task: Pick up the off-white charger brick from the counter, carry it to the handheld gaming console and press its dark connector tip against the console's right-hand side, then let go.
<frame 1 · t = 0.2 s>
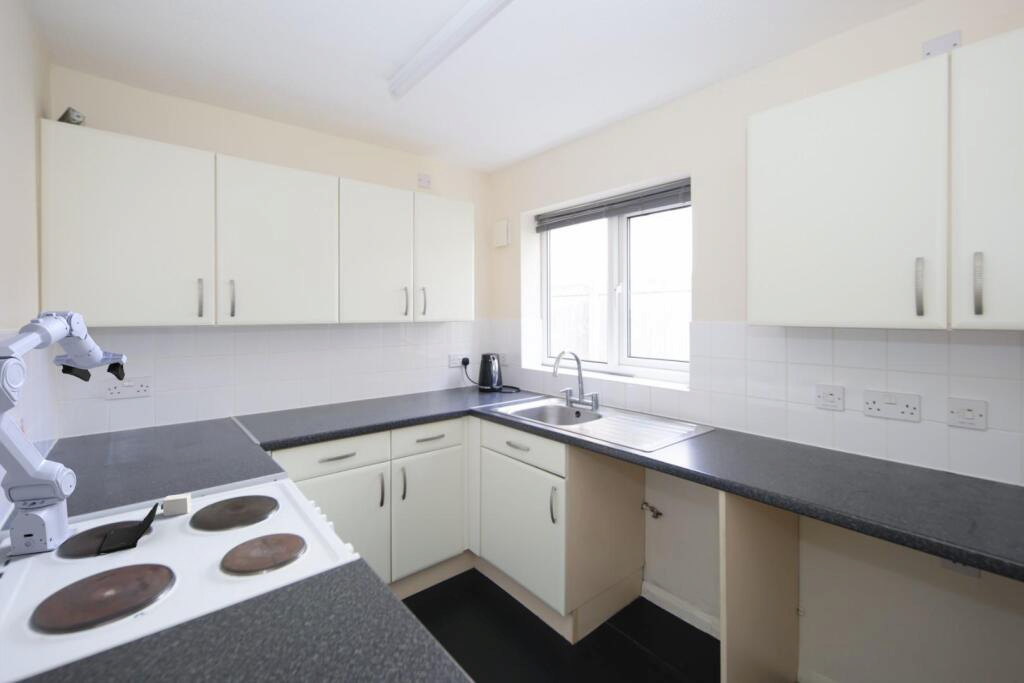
hand: (105, 377, 128), 32 cm above the countertop, tool tilted 50°, fingers open, 7 cm apart
charger brick: (178, 512, 118), on the countertop
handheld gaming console: (132, 540, 105), on the countertop
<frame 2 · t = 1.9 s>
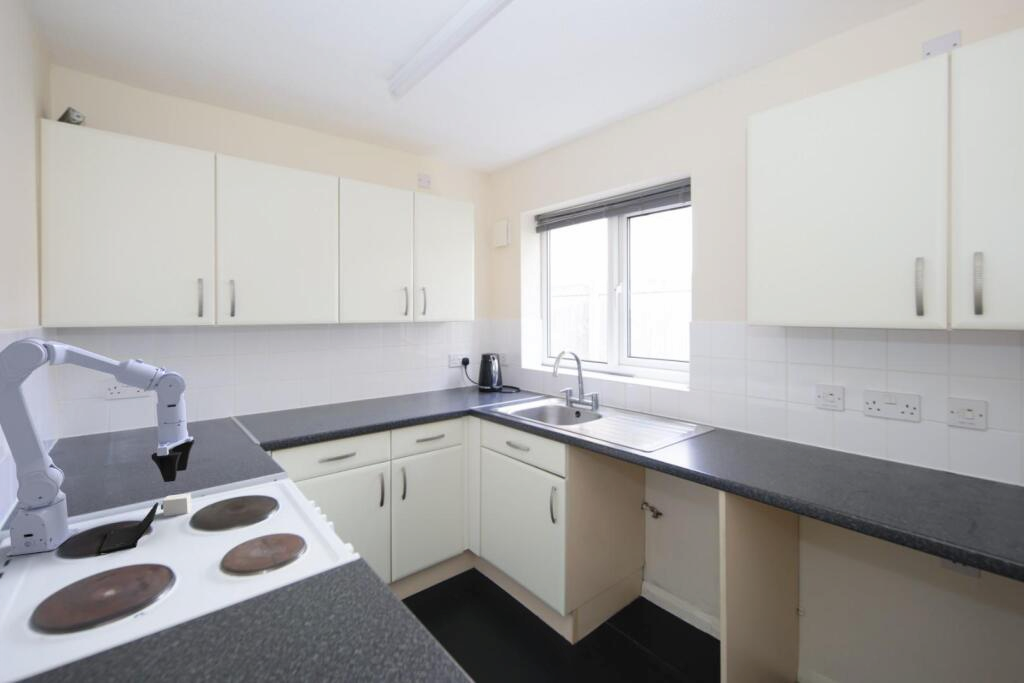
hand: (175, 475, 117), 9 cm above the countertop, tool pointing down, fingers open, 7 cm apart
nothing on the countertop moved.
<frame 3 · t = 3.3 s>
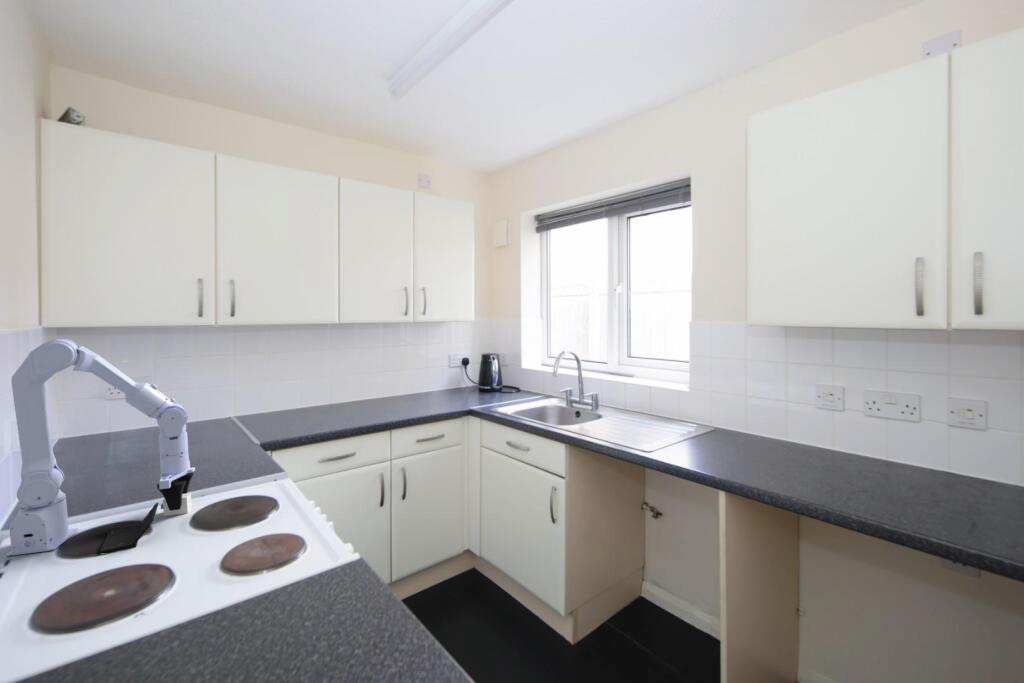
hand: (177, 506, 118), 1 cm above the countertop, tool pointing down, fingers closed on charger brick, 3 cm apart
charger brick: (178, 512, 118), on the countertop, touching gripper
everything else where it was.
when the fingers open (2 cm above the countertop, at t = 6.5 s): charger brick stays where it is, on the countertop.
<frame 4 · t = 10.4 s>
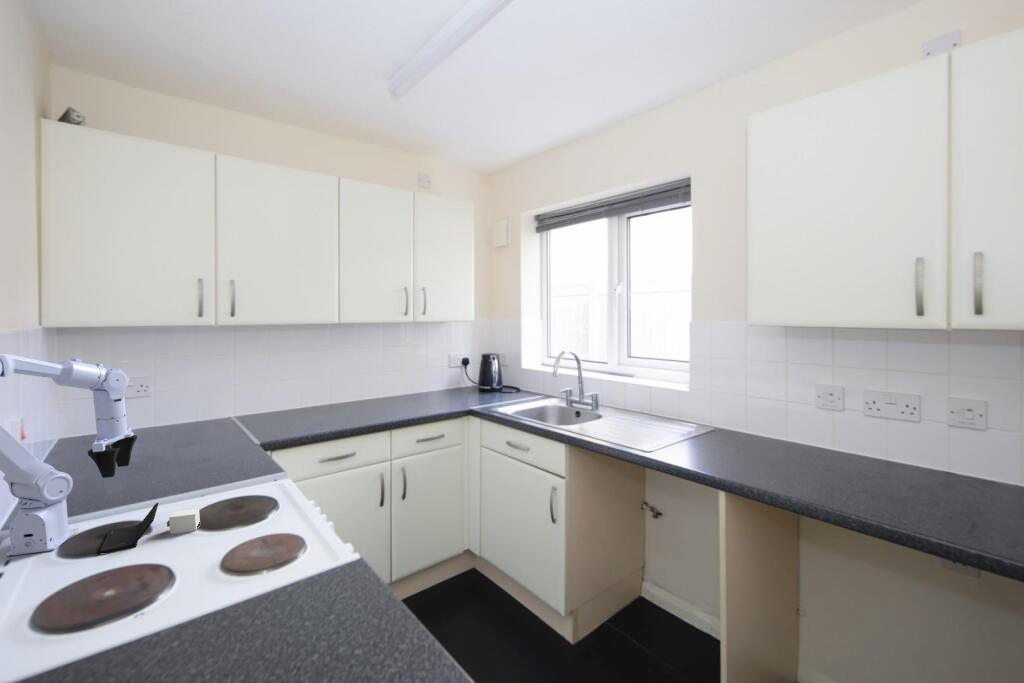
hand: (116, 471, 117), 10 cm above the countertop, tool pointing down, fingers open, 7 cm apart
charger brick: (185, 529, 109), on the countertop
everything else where it was.
at the end: charger brick tilted 0°; the gripper is holding nothing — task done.
